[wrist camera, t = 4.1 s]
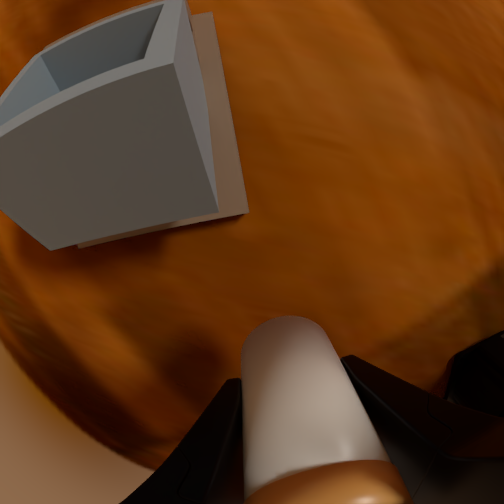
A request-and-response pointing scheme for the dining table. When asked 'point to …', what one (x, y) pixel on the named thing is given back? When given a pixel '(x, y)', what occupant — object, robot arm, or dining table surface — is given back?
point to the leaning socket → (121, 131)
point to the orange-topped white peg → (308, 424)
